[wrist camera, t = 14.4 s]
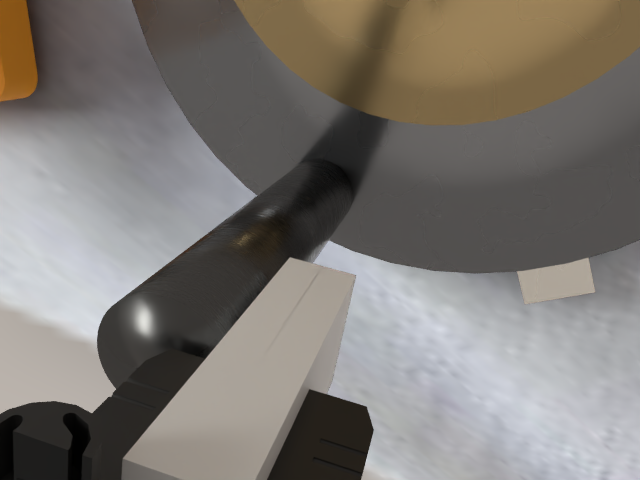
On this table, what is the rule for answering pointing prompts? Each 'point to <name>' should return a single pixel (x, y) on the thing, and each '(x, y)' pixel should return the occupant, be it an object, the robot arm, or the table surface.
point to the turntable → (371, 185)
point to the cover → (447, 52)
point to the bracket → (16, 52)
